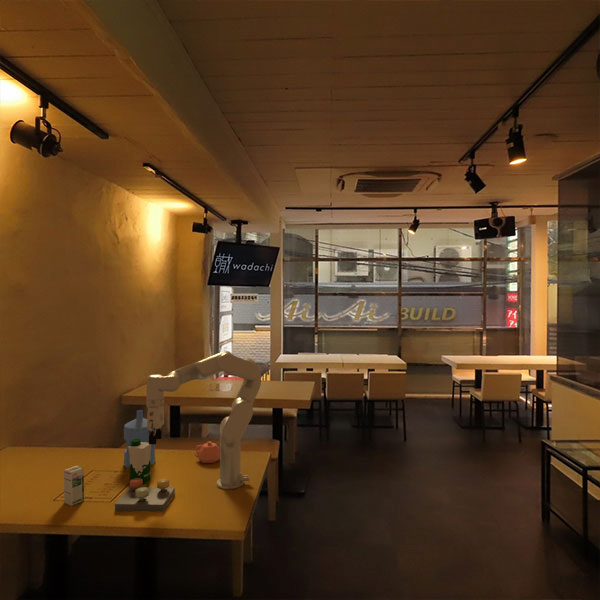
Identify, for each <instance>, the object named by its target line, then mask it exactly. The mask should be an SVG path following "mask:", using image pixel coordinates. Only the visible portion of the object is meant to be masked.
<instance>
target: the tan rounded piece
mask: <svg viewBox="0 0 600 600" xmlns="http://www.w3.org/2000/svg"><path fill="white" fill-rule="evenodd" d="M156 484H157V485H156V487H157V488H158V489H161V492H165V488H168V487H170V479H169V478H165V477H164V478H160V479H158V480H157V481H156Z"/></svg>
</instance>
